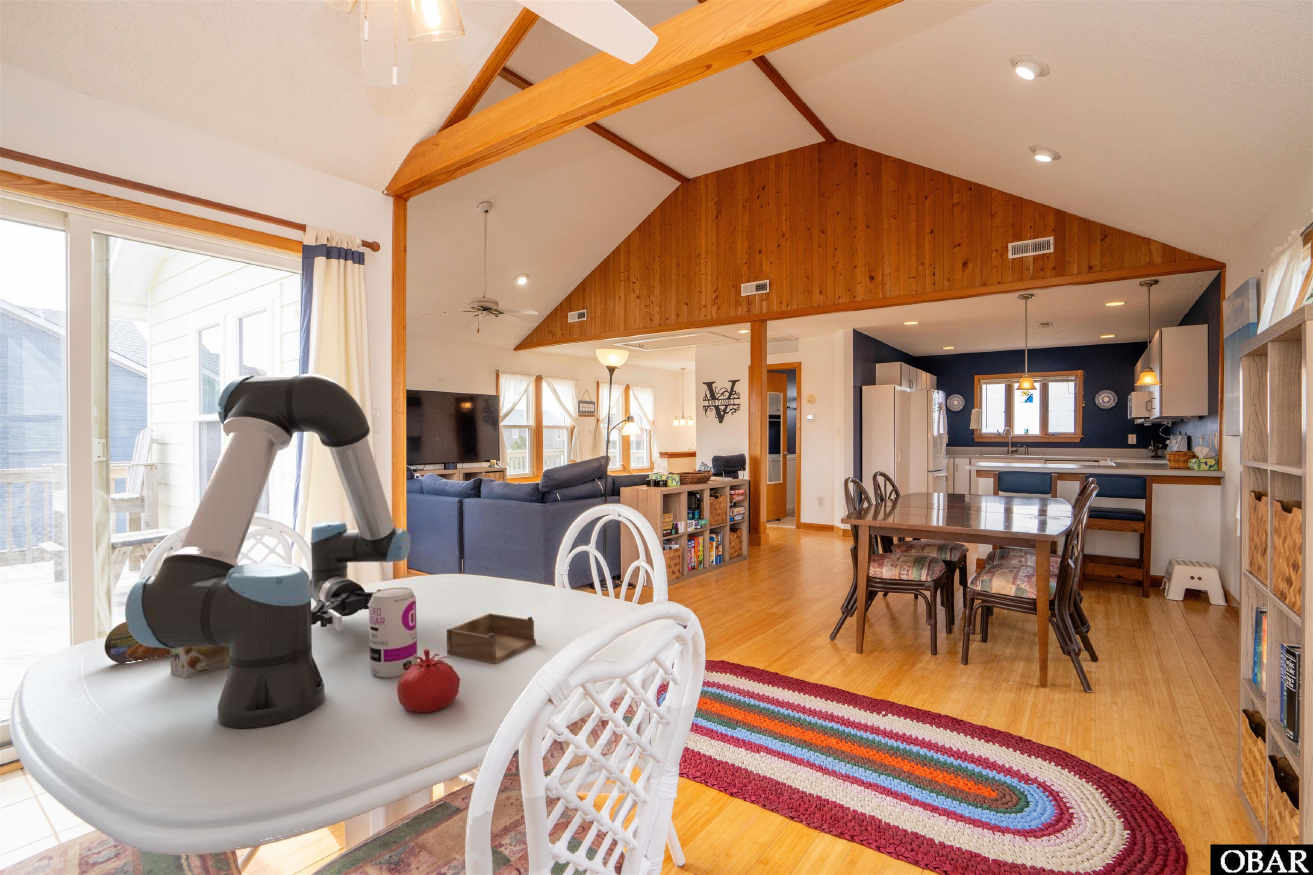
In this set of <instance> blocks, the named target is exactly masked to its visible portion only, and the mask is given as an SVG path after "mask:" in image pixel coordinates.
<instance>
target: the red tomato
mask: <svg viewBox="0 0 1313 875" xmlns="http://www.w3.org/2000/svg"><path fill="white" fill-rule="evenodd" d="M423 654H424V658H423V657H422V656H418V655H417V657H414V658H415V659H417V660H419V661H417V663H415V664H410V665H408V666H407V667H409V666H412V665H413V666H412V667H411V668H409V669H408V670H407V671H406V672H405V673H404V674H403V675H401V676H400V677H399V679H398V682H397V687H396V690H397V698H398V702H399V704H400V705H401V706H402V707H403V708H404V709H406V710H408V711H410V712H415V713H418V712H419V713H426V714H427V713H428V714H429V713H433V712H437V711H439V710H441V709H443V708H446V707H448V706H449V705H450V704H452V703H453V702H454V701H455V700H456V698H457V696H458V694H459V691H460V690H459V689H460V684H461V683H460V682H461V677H459V674H458V673H457V671H456V670H455V668H454V667H453V666H452V665H451V664H449V663H448V662H446V661H445V660H443V659H447V658H448V659H449V658H453V656H441V657H440V655H441V654H440V653H434V654H433V656H431V655H430V649H428V648H425V649H423ZM436 656H437V657H440V658H437V659H435V658H436ZM430 657H431V658H430ZM407 667H403V668H407Z"/></svg>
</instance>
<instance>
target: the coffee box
mask: <svg viewBox="0 0 1313 875" xmlns="http://www.w3.org/2000/svg"><path fill="white" fill-rule="evenodd" d="M169 656H170V657H169V658H170V674H172V675H175V676H178V677H181V678H183V679H189V678H192V677H195V676H199V675H204V674H206V673H210V672H213V671H216V670H219V669H223V668H227V667H230V655H229V647H227V646H226V647H179V648H176V649H170V655H169Z"/></svg>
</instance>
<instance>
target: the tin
mask: <svg viewBox="0 0 1313 875" xmlns="http://www.w3.org/2000/svg"><path fill="white" fill-rule="evenodd" d="M104 653H105V655H106V656H107V657H108V658H109V659H110V660H111V661H113V662H115V663H117V664H121V663H126V662H132V661H138V660H145V659H150V660H152V659H151V658H154V659H156V658H155V657H159V658H163V657H162V656H164V657H169V656H170V649H167V648H164V647H148V646H145V645H142V644H141V643H139V642H138V641H136V640H135V639H134V637H133V636H132V635H131V633H130V632H129V629H128V624H127V623H126V621H124V622H123V621H122V622H121V623H119V624H118V625H116V626H115V627H113V628H112V629H111V631H109V633H108V635H106V639H105V641H104ZM168 655H169V656H168ZM145 661H146V660H145Z"/></svg>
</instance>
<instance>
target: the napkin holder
mask: <svg viewBox="0 0 1313 875" xmlns="http://www.w3.org/2000/svg"><path fill="white" fill-rule="evenodd" d="M534 644H535V645H536V644H537V640H536V638H535V620H533V617H532V616H528V617H527V618H522V617H517V616H515V617H514V616H510V615H503V614H502V615H501V614H496V613H492V612H491V613H490V612H489V613H487V614H484V615H481V616H479V617H477V618H474V619H472V620H469V621H466V622H464V623H461V624H459V625H455V626H454V627H450V628H448V629H446V654H447V655H449V656H452V657H453V656H454V657H459V658H462V659H468V660H472V661H478V662H482V663H488V664H493V665H496V664H498V663H500V662H502V661H504V660H507V659H508V658H511V657H512V656H514V655H516V654H518V653H521V652H522V651H524V650H527V649H528V648H531V647H532V645H533V646H535V645H534ZM526 648H527V649H526Z"/></svg>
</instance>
